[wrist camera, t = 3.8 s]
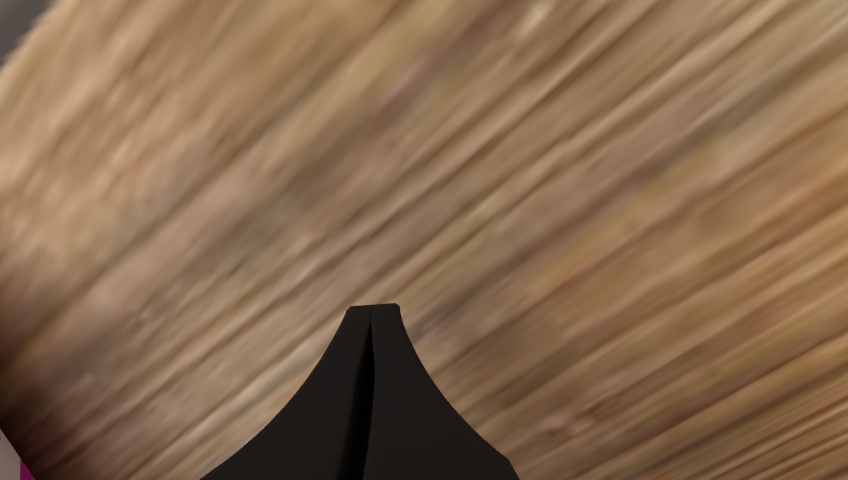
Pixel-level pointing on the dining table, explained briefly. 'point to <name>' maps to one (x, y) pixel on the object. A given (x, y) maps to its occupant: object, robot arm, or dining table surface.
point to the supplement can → (11, 462)
